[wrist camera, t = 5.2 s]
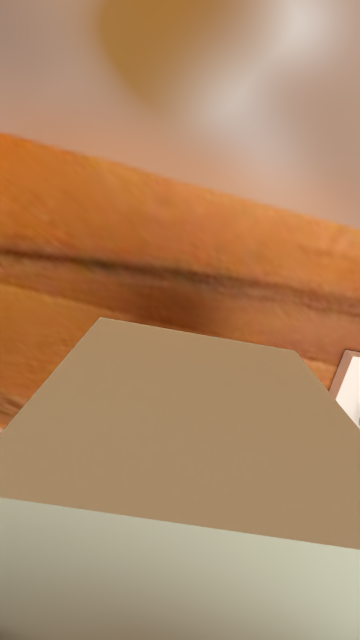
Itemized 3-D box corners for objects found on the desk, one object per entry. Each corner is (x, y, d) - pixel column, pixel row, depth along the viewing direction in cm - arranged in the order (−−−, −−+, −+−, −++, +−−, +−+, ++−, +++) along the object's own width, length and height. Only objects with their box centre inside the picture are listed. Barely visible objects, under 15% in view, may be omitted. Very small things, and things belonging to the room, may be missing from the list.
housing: (84, 471, 16) (-26, 750, 8) (100, 316, 13) (-48, 490, 5) (246, 496, 17) (310, 786, 8) (294, 350, 14) (473, 566, 5)
